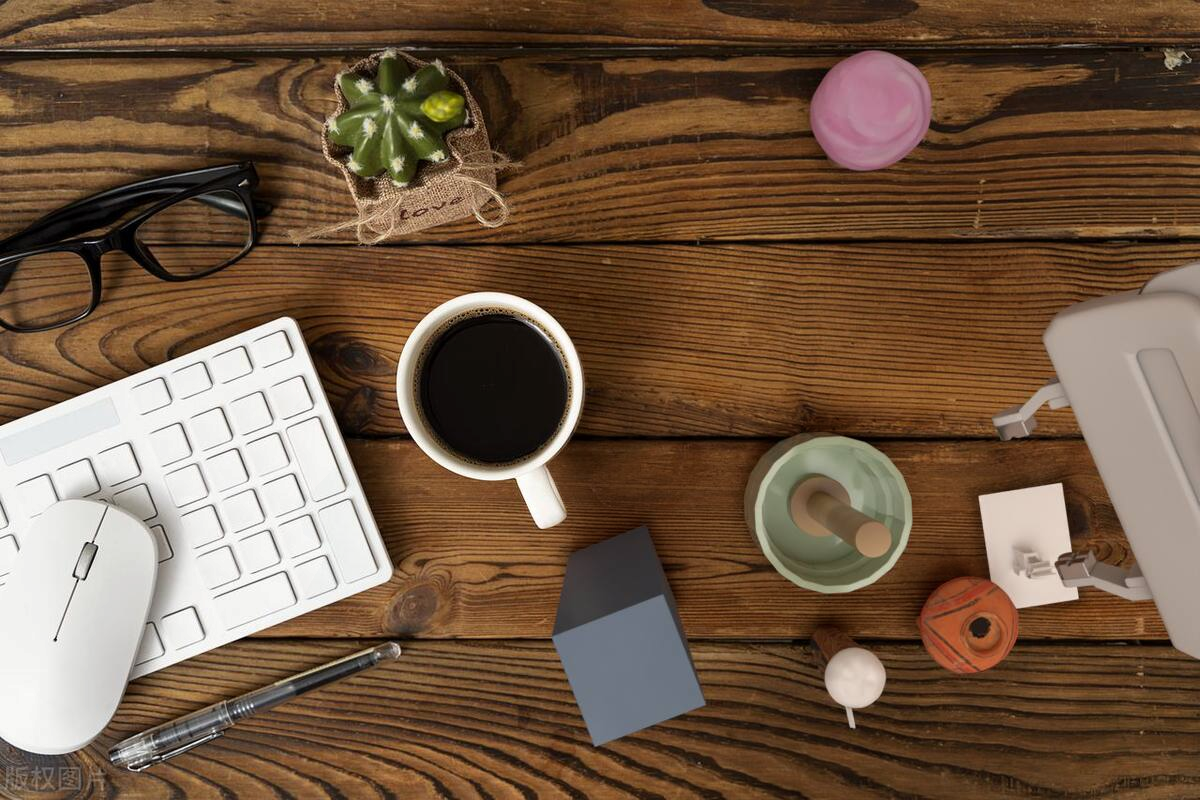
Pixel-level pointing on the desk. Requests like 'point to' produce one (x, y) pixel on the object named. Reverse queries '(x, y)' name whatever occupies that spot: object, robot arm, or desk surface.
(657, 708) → the stand
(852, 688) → the milkshake
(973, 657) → the pot
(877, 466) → the bowl
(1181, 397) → the robot arm
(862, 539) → the wooden pestle
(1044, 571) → the adhesive hook
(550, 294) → the desk surface
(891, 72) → the cupcake
